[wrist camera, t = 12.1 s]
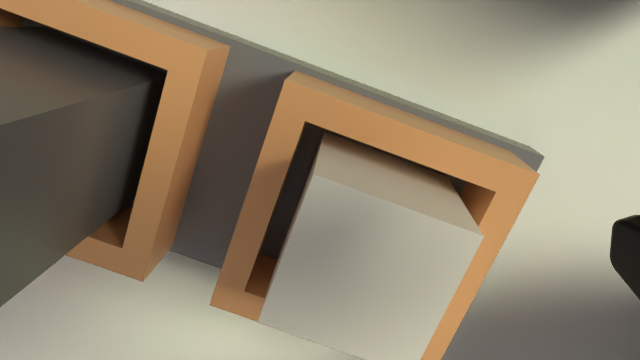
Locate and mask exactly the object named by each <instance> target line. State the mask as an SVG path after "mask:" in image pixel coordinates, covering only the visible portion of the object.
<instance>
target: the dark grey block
mask: <svg viewBox="0 0 640 360" xmlns="http://www.w3.org/2000/svg"><path fill="white" fill-rule="evenodd" d="M166 76H167V73H164V72H161V71H159V70H156V69H153V68H151V67H148V66H145V65H143V64H140V63H137V62H135V61H132V60H129V59H127V58H124V57H121V56H119V55H116V54H113V53H111V52H108V51H105V50H103V49H100V48H97V47H95V46H92V45H89V44H87V43H84V42H81V41H79V40H76V39H73V38H71V37H68V36H65V35H63V34H60V33H57V32H55V31H52V30H49V29H47V28H44V27H0V307H1V306H2V305H3V304H5V303H6V302H7V301H8V300H10V299H11V298H12V297H13V296H15V295H16V294H17V293H18V292H20V291H21V290H22V289H23V288H24V287H26V286H27V285H28V284H29V283H31V282H32V281H33V280H34V279H36V278H37V277H38V276H39V275H41V274H42V273H43V272H44V271H46V270H47V269H48V268H49V267H51V266H52V265H53V264H54V263H56V262H57V261H58V260H59V259H60V258H62V257H63V256H64V255H65V254H67V253H68V252H69V251H70V250H72V249H73V248H74V247H75V246H77V245H78V244H79V243H80V242H82V241H83V240H84V239H85V238H87V237H88V236H89V235H90V234H92V233H93V232H94V231H95V230H97V229H98V228H99V227H100V226H101V225H103V224H104V223H105V222H106V221H108V220H109V219H110V218H111V217H113V216H114V215H115V214H116V213H118V212H119V211H120V210H121V209H123V208H124V207H125V206H126V205H128V204H129V203H130V202H131V201H133V200H134V199H135V197H136V193H137V189H138V185H139V181H140V177H141V173H142V170H143V166H144V162H145V158H146V154H147V150H148V146H149V142H150V138H151V134H152V130H153V127H154V123H155V119H156V115H157V111H158V107H159V103H160V99H161V95H162V91H163V88H164V84H165V80H166Z"/></svg>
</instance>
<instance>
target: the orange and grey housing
mask: <svg viewBox="0 0 640 360" xmlns="http://www.w3.org/2000/svg"><path fill="white" fill-rule="evenodd" d="M0 27H44V28H47V29H49V30H52V31H55V32H57V33H60V34H63V35H65V36H68V37H71V38H73V39H76V40H79V41H81V42H84V43H87V44H89V45H92V46H95V47H97V48H100V49H103V50H105V51H108V52H111V53H113V54H116V55H119V56H121V57H124V58H127V59H129V60H132V61H135V62H137V63H140V64H143V65H145V66H148V67H151V68H153V69H156V70H159V71H161V72H164V73H167V76H166V80H165V84H164V88H163V91H162V95H161V99H160V103H159V107H158V111H157V115H156V119H155V123H154V127H153V130H152V134H151V138H150V142H149V146H148V150H147V154H146V158H145V162H144V166H143V170H142V173H141V177H140V181H139V185H138V189H137V193H136V197H135V199H134V200H133V201H131V202H130V203H129V204H128V205H126V206H125V207H124V208H123V209H121V210H120V211H119V212H118V213H116V214H115V215H114V216H113V217H111V218H110V219H109V220H108V221H106V222H105V223H104V224H103V225H101V226H100V227H99V228H98V229H97V230H95V231H94V232H93V233H92V234H90V235H89V236H88V237H87V238H85V239H84V240H83V241H82V242H80V243H79V244H78V245H77V246H75V247H74V248H73V249H72V250H70V251H69V252H68V253H67V254H65V255H68V256H71V257H73V258H76V259H79V260H82V261H85V262H88V263H91V264H94V265H96V266H99V267H102V268H105V269H108V270H111V271H114V272H116V273H119V274H122V275H125V276H128V277H131V278H134V279H137V280H139V281H142V282H143V281H144V280H145V279H146V277H147V276H148V275H149V274H150V273H151V271H152V270H153V269H154V268H155V266H156V265H157V264H158V263H159V261H160V260H161V259H162V258H163V256H164V255H165V254H166V253H167V252H168V250H171V251H173V252H176V253H179V254H182V255H185V256H188V257H190V258H193V259H196V260H199V261H202V262H205V263H207V264H210V265H213V266H216V267H219V268H222V269H221V272H220V275H219V278H218V281H217V284H216V287H215V290H214V293H213V296H212V299H211V302H210V305H211V306H214V307H217V308H220V309H223V310H226V311H228V312H231V313H234V314H237V315H240V316H243V317H246V318H249V319H251V320H254V321H257V322H258V323H261V324H264V325H267V326H270V327H273V328H275V329H278V330H281V331H284V332H287V333H290V334H293V335H296V336H298V337H301V338H304V339H307V340H310V341H313V342H316V343H318V344H321V345H324V346H327V347H330V348H333V349H336V350H339V351H341V352H344V353H347V354H350V355H353V356H356V357H359V358H362V359H364V360H441V359H442V357H443V355H444V353H445V351H446V349H447V347H448V346H449V344H450V342H451V340H452V338H453V336H454V334H455V333H456V331H457V329H458V327H459V325H460V323H461V321H462V319H463V318H464V316H465V314H466V312H467V310H468V308H469V306H470V304H471V303H472V301H473V299H474V297H475V295H476V293H477V291H478V290H479V288H480V286H481V284H482V282H483V280H484V278H485V276H486V275H487V273H488V271H489V269H490V267H491V265H492V263H493V261H494V260H495V258H496V256H497V254H498V252H499V250H500V248H501V247H502V245H503V243H504V241H505V239H506V237H507V235H508V233H509V232H510V230H511V228H512V226H513V224H514V222H515V220H516V218H517V217H518V215H519V213H520V211H521V209H522V207H523V205H524V204H525V202H526V200H527V198H528V196H529V194H530V192H531V190H532V189H533V187H534V185H535V183H536V181H537V179H538V177H539V174H538V173H537V170H538V168H539V166H540V164H541V162H542V161H543V159H544V156H543V155H541V154H540V153H539V152H537V151H536V150H534V149H533V148H531V147H529V146H527V145H524V144H521V143H519V142H516V141H513V140H511V139H508V138H505V137H503V136H500V135H497V134H495V133H492V132H489V131H487V130H484V129H481V128H479V127H476V126H473V125H471V124H468V123H465V122H463V121H460V120H458V119H455V118H452V117H450V116H447V115H444V114H442V113H439V112H436V111H434V110H431V109H428V108H426V107H423V106H420V105H418V104H415V103H412V102H410V101H407V100H404V99H402V98H399V97H396V96H394V95H391V94H389V93H386V92H383V91H381V90H378V89H375V88H373V87H370V86H367V85H365V84H362V83H359V82H357V81H354V80H351V79H349V78H346V77H343V76H341V75H338V74H335V73H333V72H330V71H327V70H325V69H322V68H320V67H317V66H314V65H312V64H309V63H306V62H304V61H301V60H298V59H296V58H293V57H290V56H288V55H285V54H282V53H280V52H277V51H274V50H272V49H269V48H266V47H264V46H261V45H258V44H256V43H253V42H251V41H248V40H245V39H243V38H240V37H237V36H235V35H232V34H229V33H227V32H224V31H221V30H219V29H216V28H213V27H211V26H208V25H205V24H203V23H200V22H197V21H195V20H192V19H189V18H187V17H184V16H181V15H179V14H176V13H174V12H171V11H168V10H166V9H163V8H160V7H158V6H155V5H152V4H150V3H147V2H144V1H142V0H0Z"/></svg>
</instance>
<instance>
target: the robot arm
mask: <svg viewBox="0 0 640 360" xmlns="http://www.w3.org/2000/svg"><path fill="white" fill-rule="evenodd" d="M610 260H611V263H612V265H613V267H614V269H615V270H616V271H617V273H618V274H619V275H620V276H621V277H622V279H623V280H624V281H625V282H626V284H627V285H628V286H629V287H630V288H631V290H632V291H633V292H634V293H635V295H636V296H637V297H638V298H639V299H640V215H633V216H629V217H626V218H623V219H620V220H617V221H616V222H615V223H614V225H613V227H612V237H611V248H610Z"/></svg>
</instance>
